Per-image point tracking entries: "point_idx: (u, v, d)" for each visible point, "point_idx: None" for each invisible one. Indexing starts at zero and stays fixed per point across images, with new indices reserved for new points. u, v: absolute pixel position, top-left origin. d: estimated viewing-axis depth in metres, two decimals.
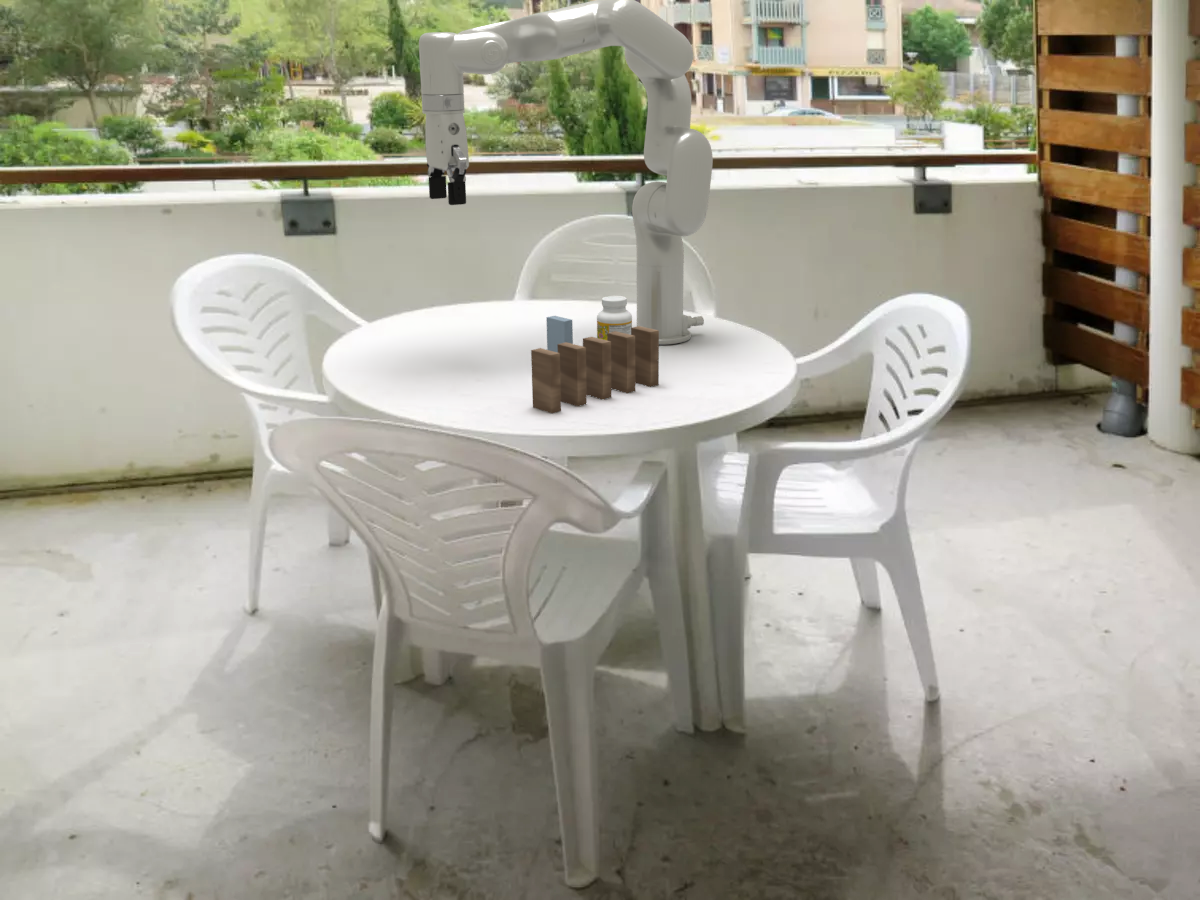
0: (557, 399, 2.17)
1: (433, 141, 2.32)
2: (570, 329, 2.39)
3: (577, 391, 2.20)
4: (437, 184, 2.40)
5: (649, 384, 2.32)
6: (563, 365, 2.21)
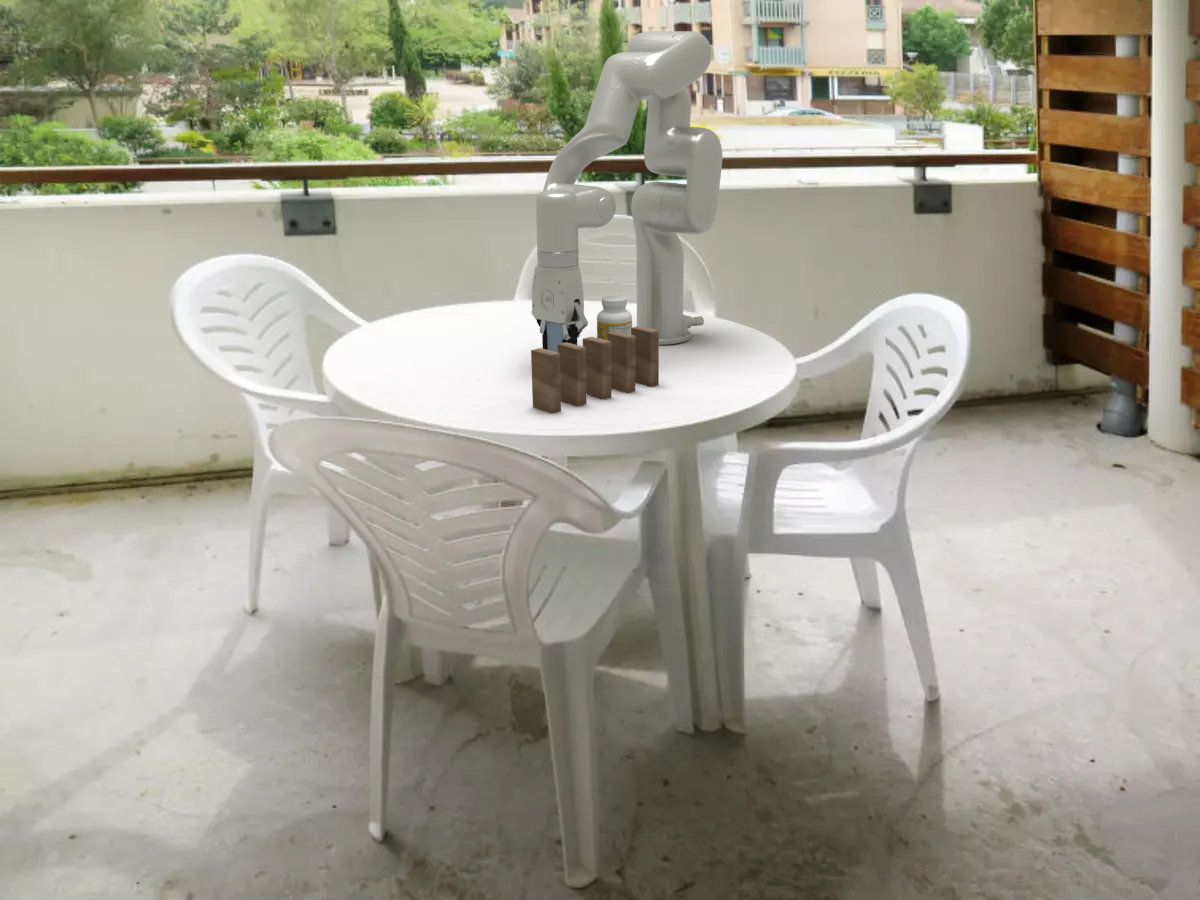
0: (557, 399, 2.17)
1: None
2: (570, 329, 2.39)
3: (577, 391, 2.20)
4: None
5: (649, 384, 2.32)
6: (563, 365, 2.21)
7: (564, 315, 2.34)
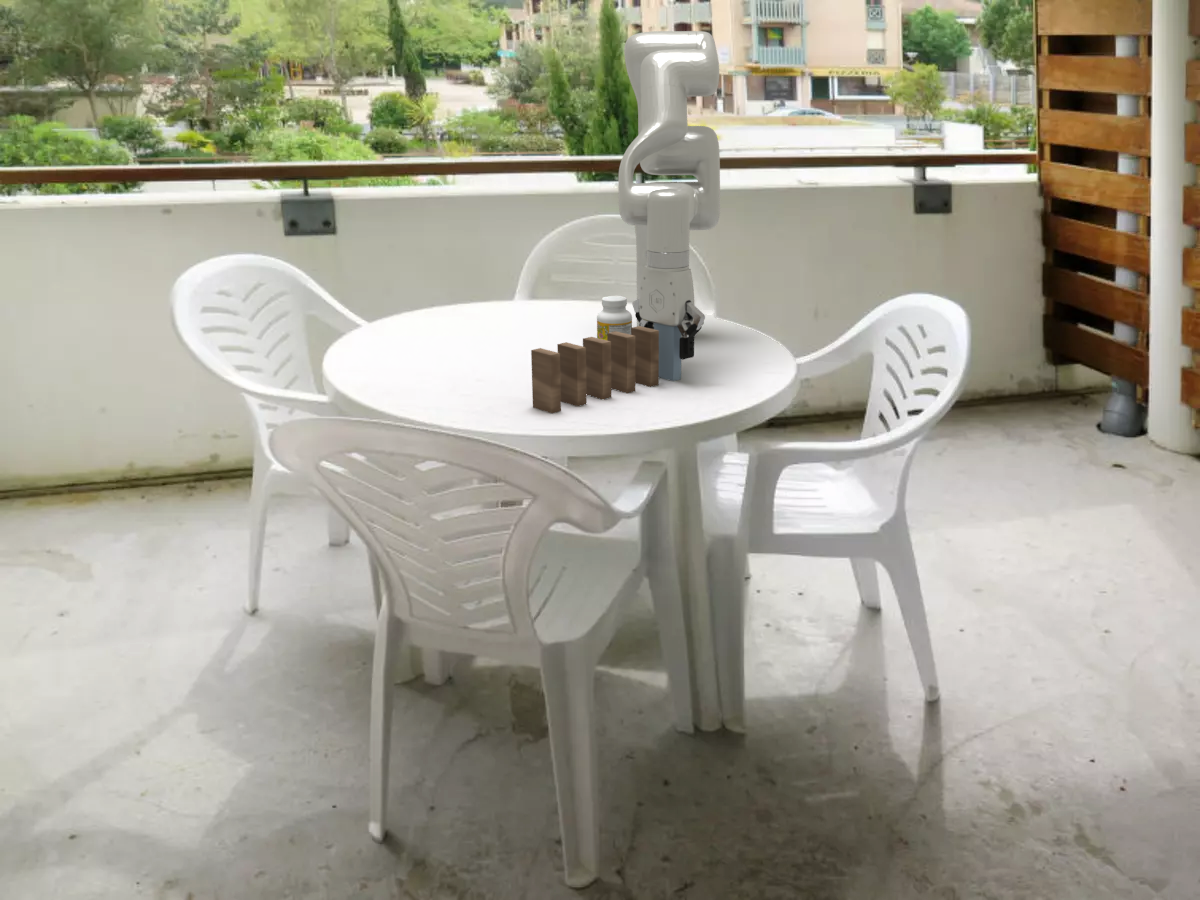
0: (557, 399, 2.17)
1: None
2: (679, 334, 2.33)
3: (577, 391, 2.20)
4: None
5: (649, 384, 2.32)
6: (563, 365, 2.21)
7: (675, 317, 2.29)
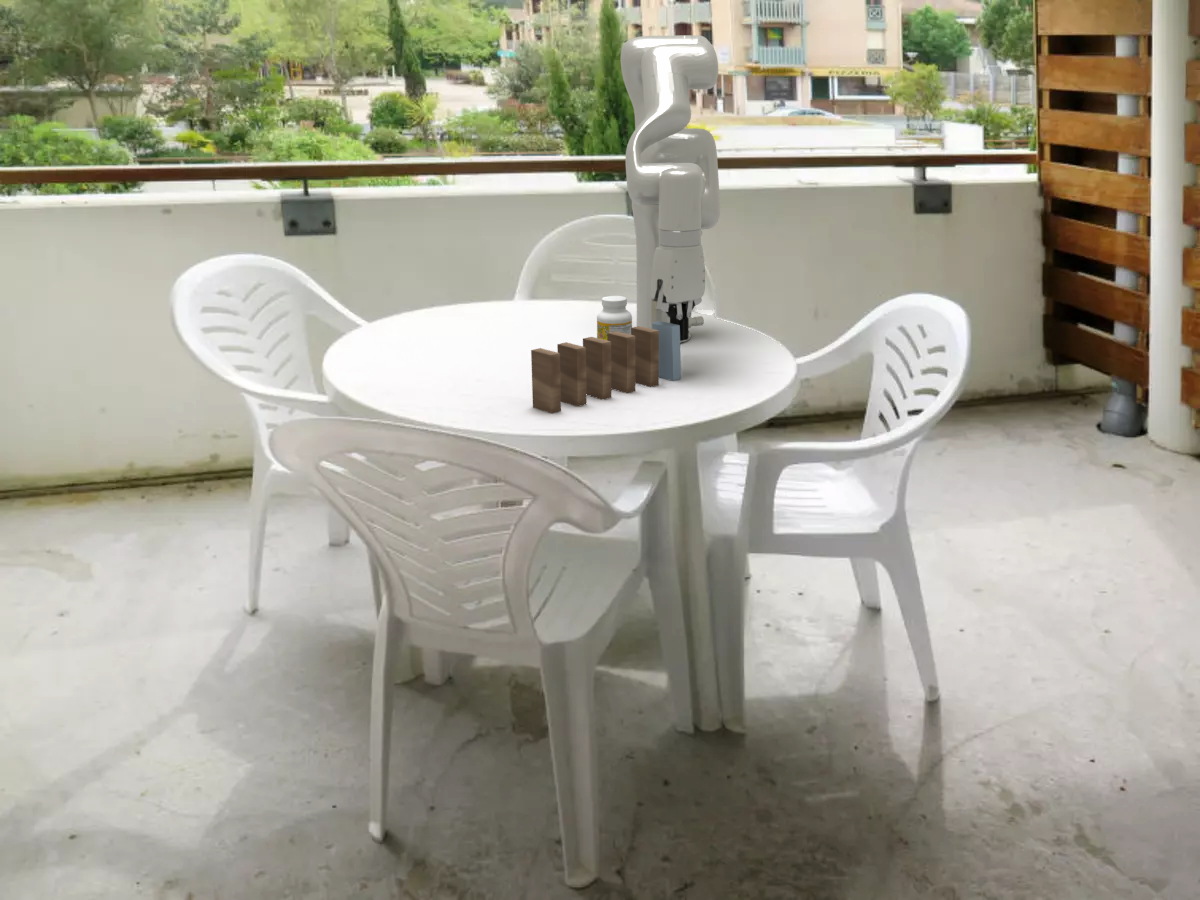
0: (557, 399, 2.17)
1: (692, 274, 2.32)
2: (677, 334, 2.33)
3: (577, 391, 2.20)
4: None
5: (649, 384, 2.32)
6: (563, 365, 2.21)
7: None
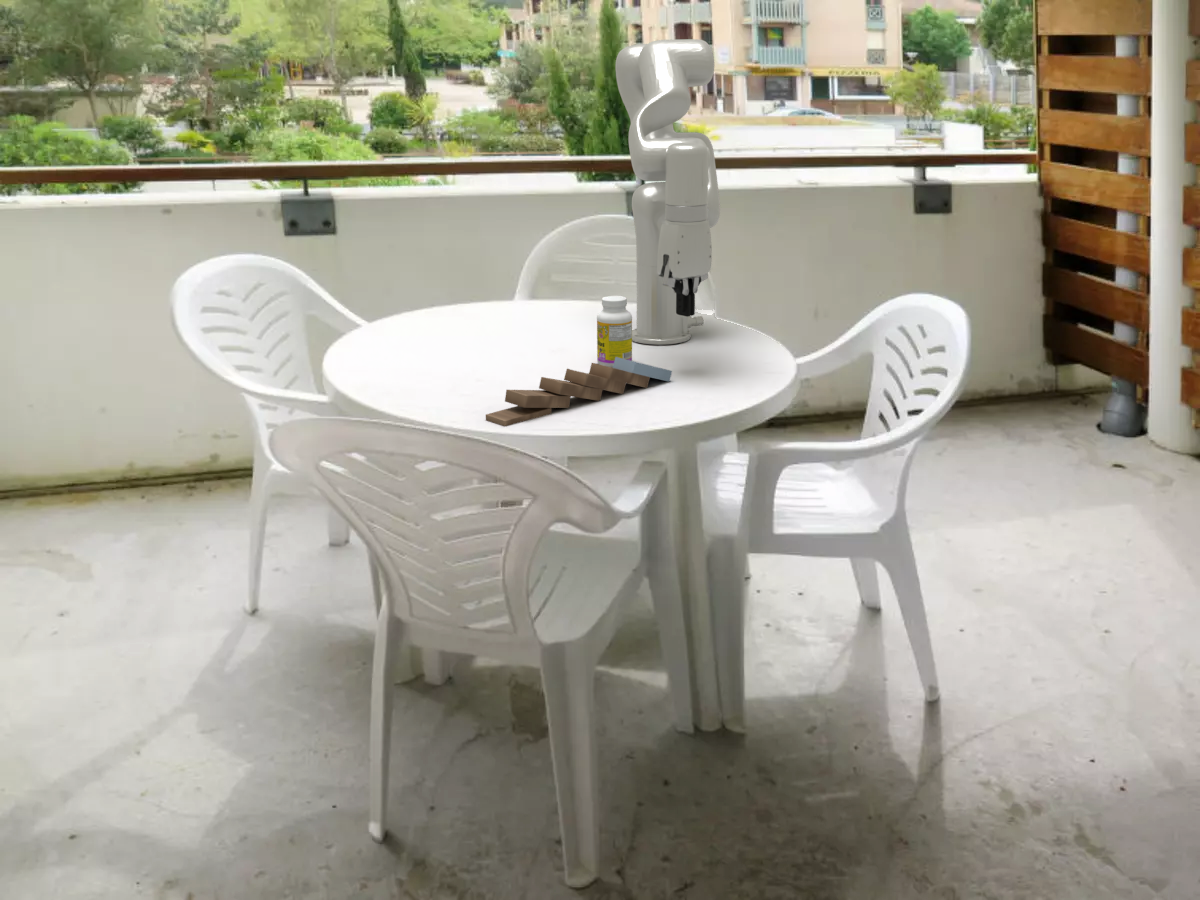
0: (541, 414, 2.15)
1: (699, 249, 2.32)
2: (640, 366, 2.29)
3: (556, 407, 2.17)
4: None
5: None
6: None
7: None
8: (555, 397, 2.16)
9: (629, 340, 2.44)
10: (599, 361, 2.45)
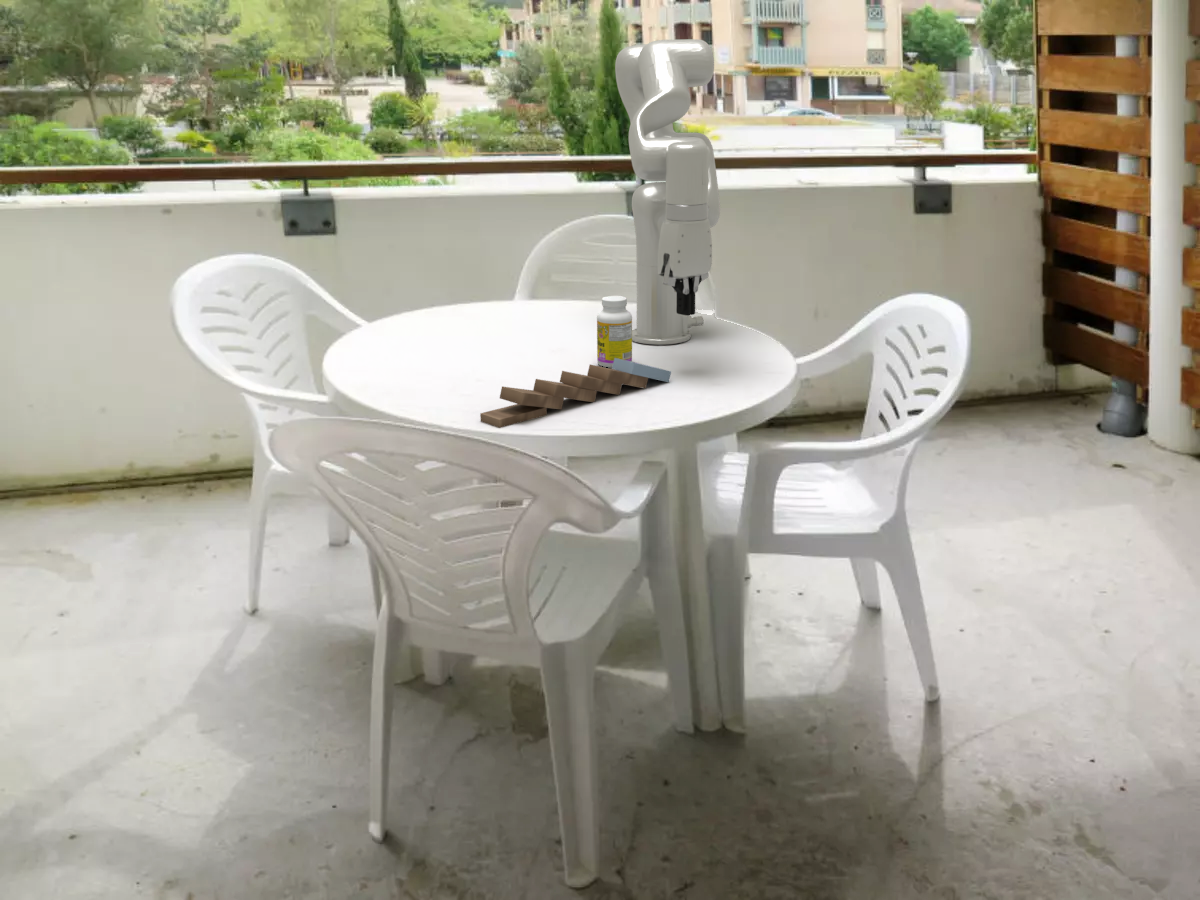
0: (536, 414, 2.14)
1: (699, 249, 2.32)
2: (639, 367, 2.28)
3: None
4: None
5: None
6: None
7: (658, 266, 2.33)
8: (550, 397, 2.15)
9: (629, 340, 2.44)
10: (599, 361, 2.45)
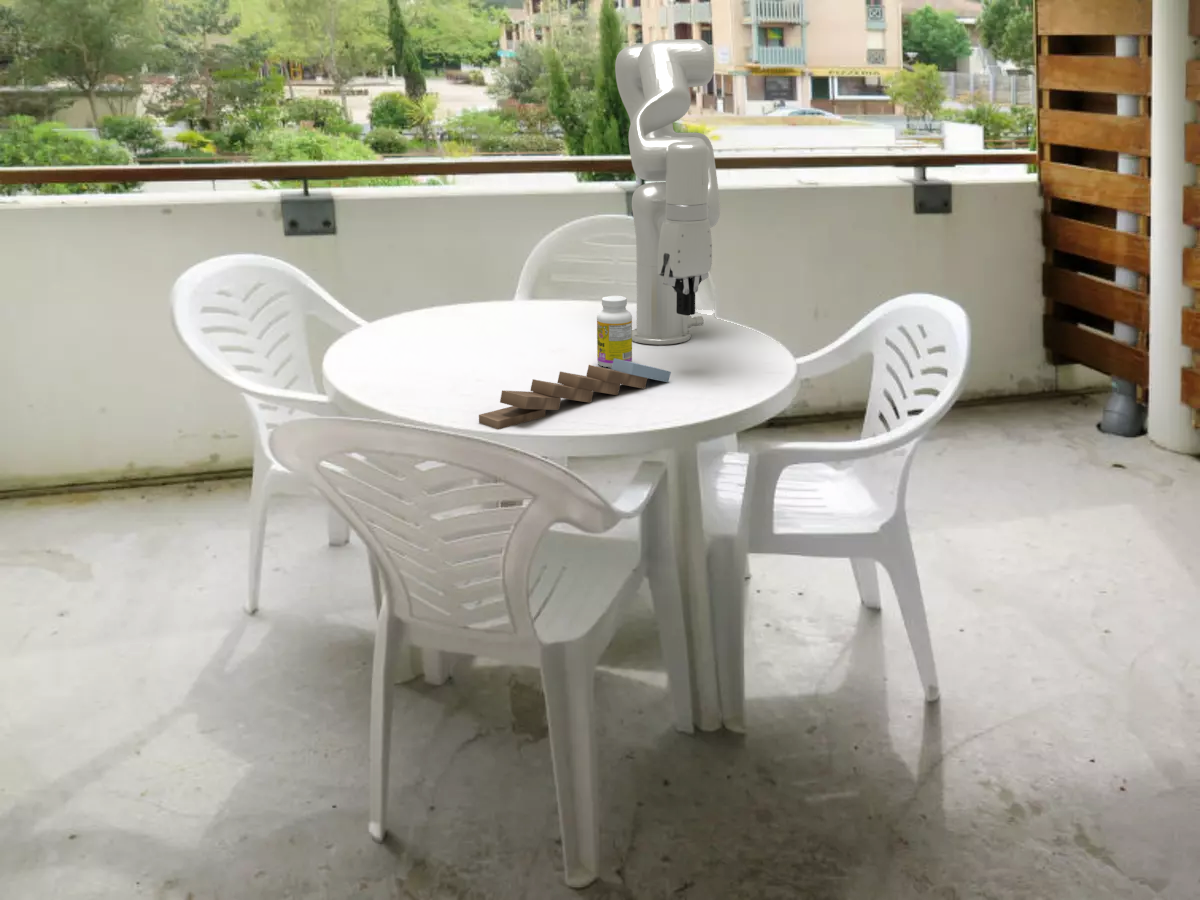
0: (535, 415, 2.13)
1: (699, 249, 2.32)
2: (639, 368, 2.28)
3: (549, 409, 2.15)
4: None
5: None
6: None
7: (658, 266, 2.33)
8: (549, 399, 2.14)
9: (629, 340, 2.44)
10: (599, 361, 2.45)
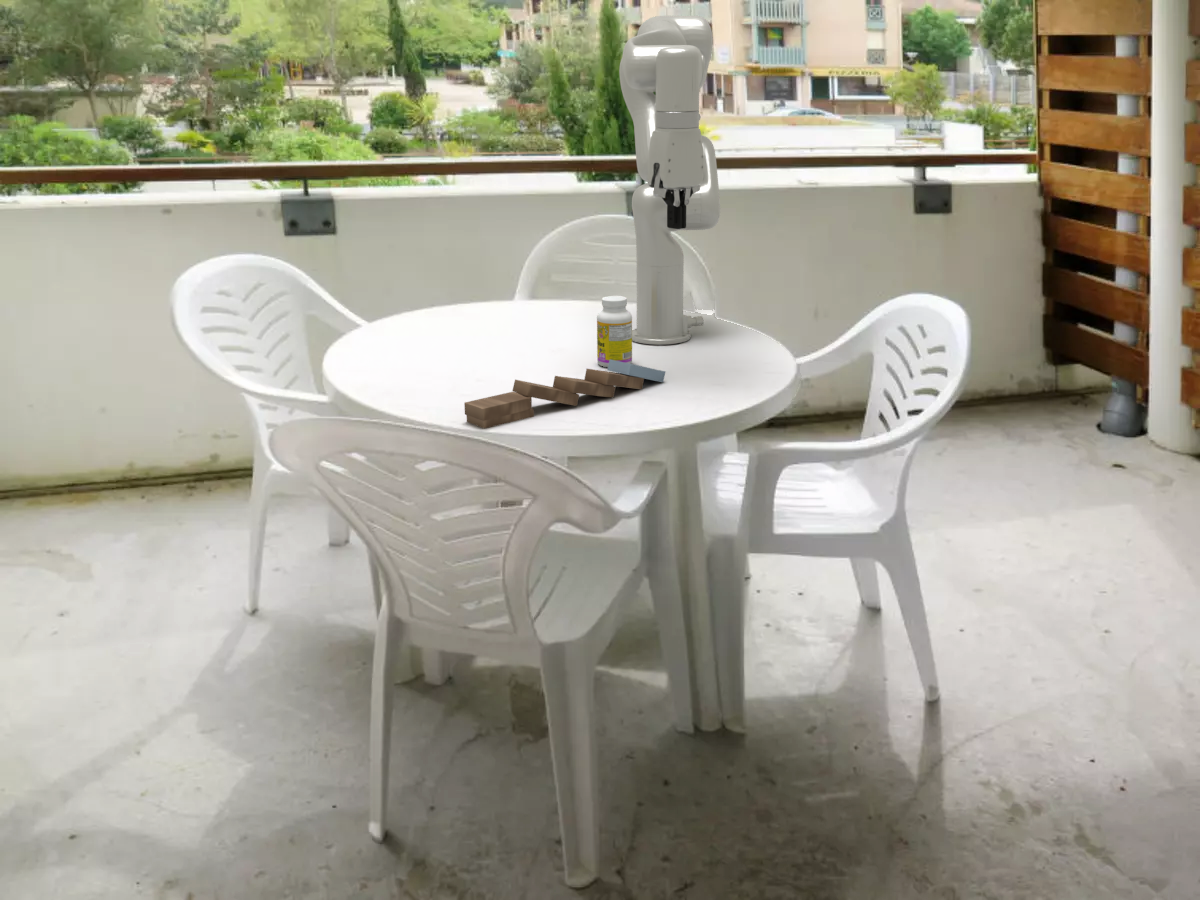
0: (523, 415, 2.14)
1: (690, 159, 2.25)
2: (636, 368, 2.28)
3: None
4: None
5: None
6: None
7: None
8: (515, 402, 2.12)
9: (629, 340, 2.44)
10: (599, 361, 2.45)
